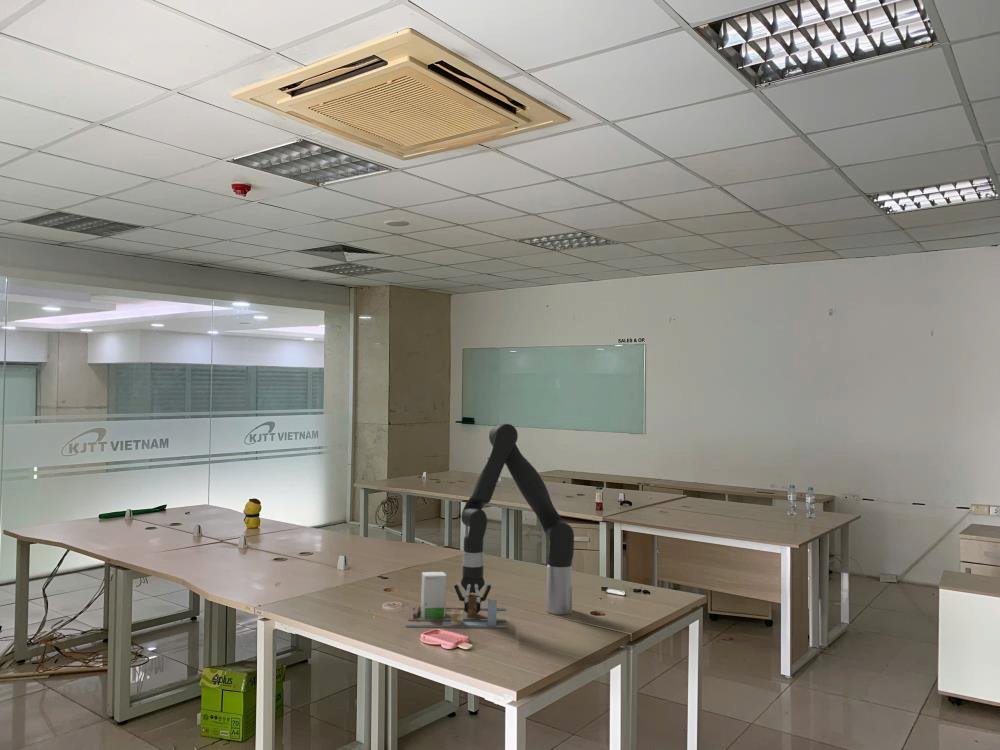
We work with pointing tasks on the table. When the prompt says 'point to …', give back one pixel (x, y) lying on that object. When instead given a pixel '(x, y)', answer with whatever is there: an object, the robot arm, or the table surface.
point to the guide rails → (457, 625)
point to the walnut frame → (471, 609)
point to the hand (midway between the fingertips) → (472, 612)
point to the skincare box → (433, 594)
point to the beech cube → (457, 617)
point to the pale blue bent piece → (491, 616)
